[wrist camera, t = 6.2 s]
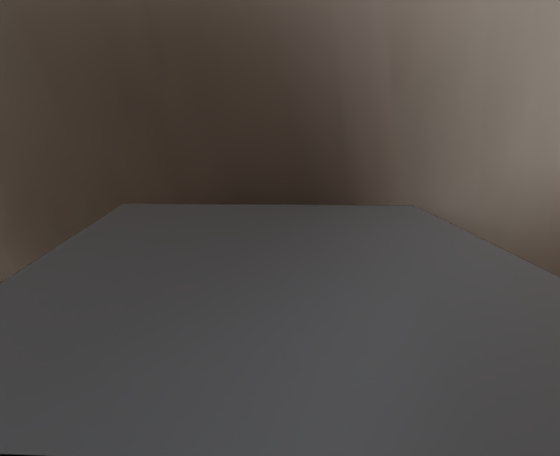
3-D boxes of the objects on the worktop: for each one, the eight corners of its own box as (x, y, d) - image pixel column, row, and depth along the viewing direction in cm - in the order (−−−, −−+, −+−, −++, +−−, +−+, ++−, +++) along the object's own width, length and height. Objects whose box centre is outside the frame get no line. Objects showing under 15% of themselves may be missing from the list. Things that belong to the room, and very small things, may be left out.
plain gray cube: (378, 418, 11) (588, 888, 4) (151, 433, 10) (-35, 1037, 4) (413, 205, 9) (989, 487, 2) (123, 203, 8) (-590, 666, 1)
